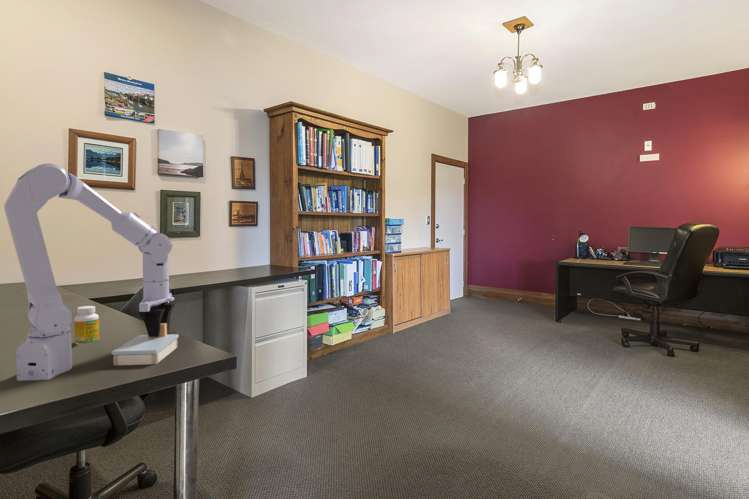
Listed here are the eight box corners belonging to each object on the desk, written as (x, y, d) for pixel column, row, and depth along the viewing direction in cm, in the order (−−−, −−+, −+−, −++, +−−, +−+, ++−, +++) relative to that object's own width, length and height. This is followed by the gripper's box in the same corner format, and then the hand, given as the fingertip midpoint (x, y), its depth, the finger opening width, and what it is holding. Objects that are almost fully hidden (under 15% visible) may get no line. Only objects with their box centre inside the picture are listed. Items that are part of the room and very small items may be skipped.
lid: (156, 353, 91) (156, 336, 91) (111, 354, 90) (111, 338, 90) (178, 337, 104) (178, 322, 104) (139, 338, 103) (139, 323, 103)
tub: (156, 367, 91) (156, 354, 91) (113, 368, 90) (113, 355, 90) (177, 349, 104) (177, 338, 104) (140, 350, 103) (140, 339, 103)
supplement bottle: (86, 346, 107) (85, 309, 106) (69, 344, 108) (68, 308, 107) (104, 340, 112) (103, 305, 112) (88, 339, 113) (86, 304, 113)
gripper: (161, 284, 95) (162, 341, 96) (183, 276, 109) (184, 326, 110) (129, 284, 94) (130, 342, 95) (155, 277, 109) (156, 327, 109)
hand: (157, 334), depth 103 cm, fingers open, 4 cm apart
